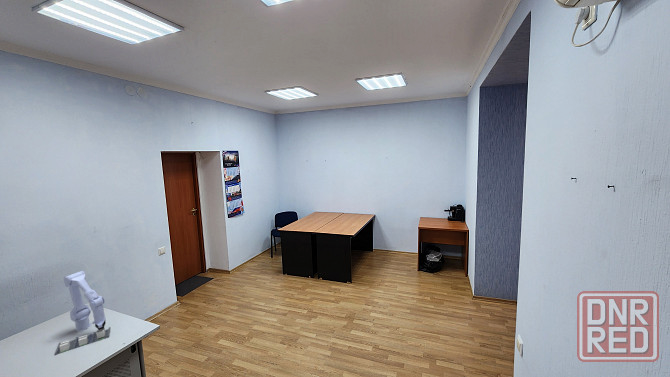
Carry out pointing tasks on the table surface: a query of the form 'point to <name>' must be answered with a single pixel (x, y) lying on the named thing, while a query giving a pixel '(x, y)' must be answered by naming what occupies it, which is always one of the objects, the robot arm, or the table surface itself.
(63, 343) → the breaker right
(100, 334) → the breaker
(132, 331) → the table surface
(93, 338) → the panel
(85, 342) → the block
